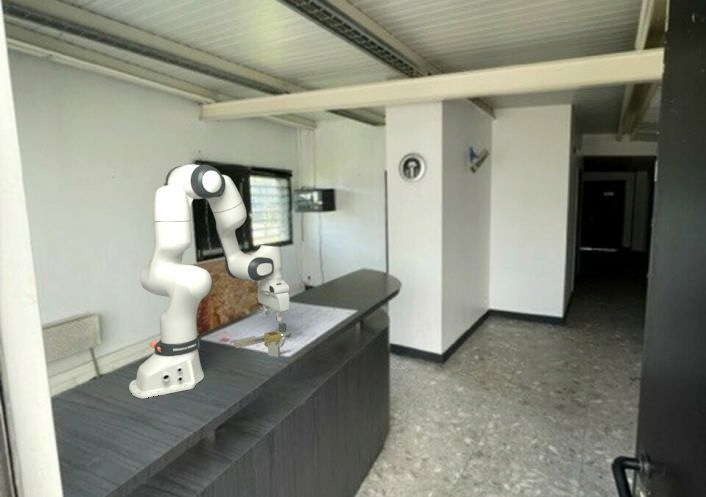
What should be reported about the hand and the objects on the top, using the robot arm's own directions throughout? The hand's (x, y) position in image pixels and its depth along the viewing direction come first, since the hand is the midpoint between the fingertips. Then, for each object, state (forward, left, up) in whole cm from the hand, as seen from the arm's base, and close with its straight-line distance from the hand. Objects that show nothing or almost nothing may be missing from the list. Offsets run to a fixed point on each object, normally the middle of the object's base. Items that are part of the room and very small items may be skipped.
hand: (273, 317), depth 173 cm
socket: (-1, 0, -12) cm, 12 cm away
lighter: (-5, -11, -12) cm, 17 cm away
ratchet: (-1, +8, -12) cm, 14 cm away
